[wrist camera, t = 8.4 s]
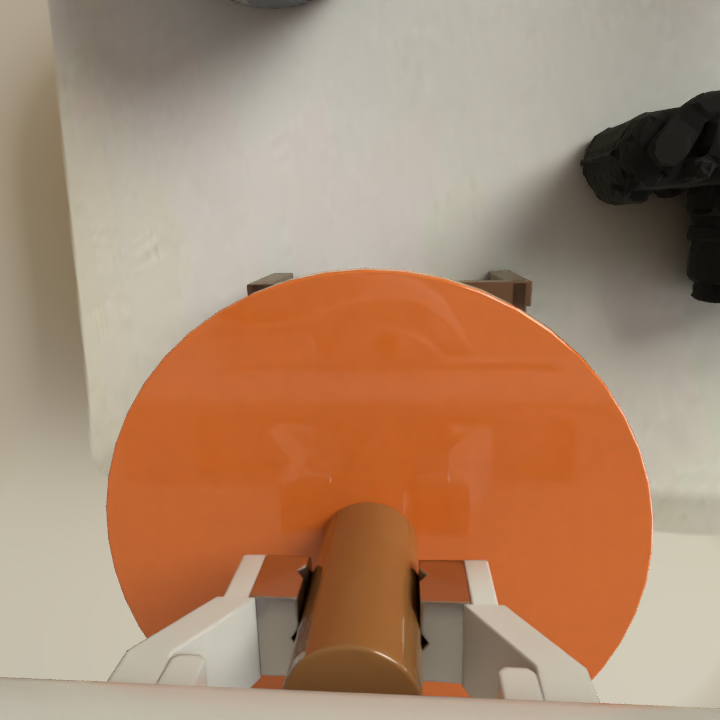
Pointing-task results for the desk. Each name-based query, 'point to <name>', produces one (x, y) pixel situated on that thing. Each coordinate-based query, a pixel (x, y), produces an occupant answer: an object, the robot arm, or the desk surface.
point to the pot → (271, 3)
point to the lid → (381, 472)
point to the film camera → (668, 175)
